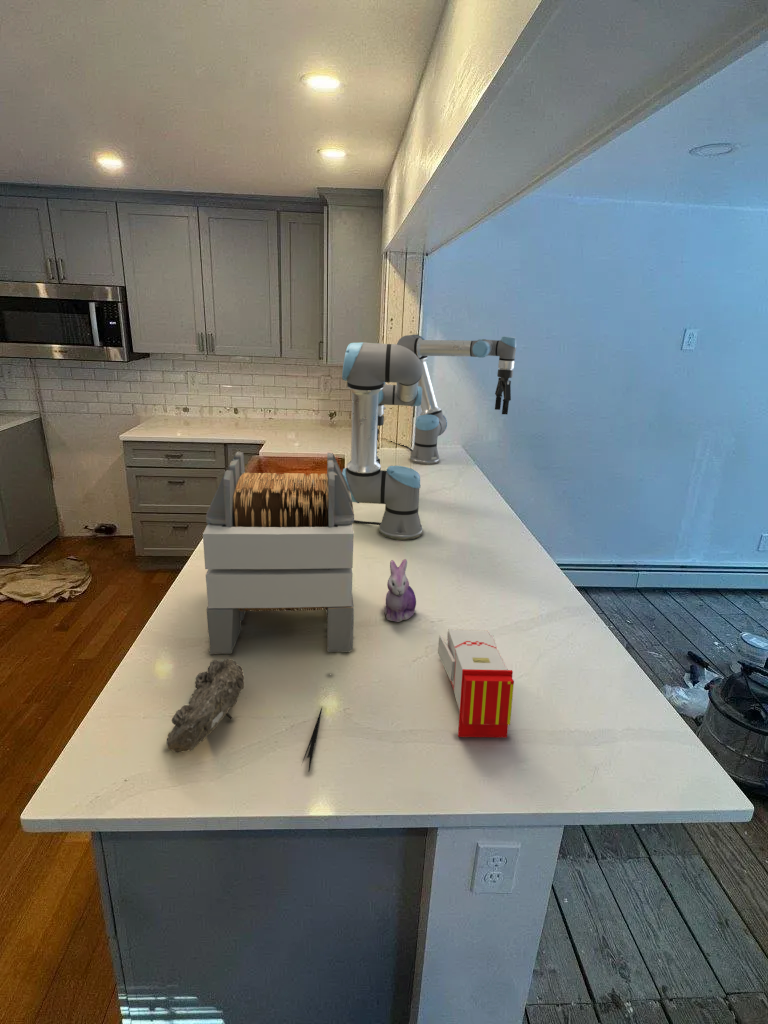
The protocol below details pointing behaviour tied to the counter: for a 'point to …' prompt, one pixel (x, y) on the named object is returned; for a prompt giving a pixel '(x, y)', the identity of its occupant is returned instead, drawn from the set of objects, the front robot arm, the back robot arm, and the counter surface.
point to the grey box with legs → (279, 550)
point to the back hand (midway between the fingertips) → (500, 411)
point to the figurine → (399, 594)
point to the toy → (478, 682)
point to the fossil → (206, 705)
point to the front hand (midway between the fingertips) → (372, 470)
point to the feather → (313, 740)
